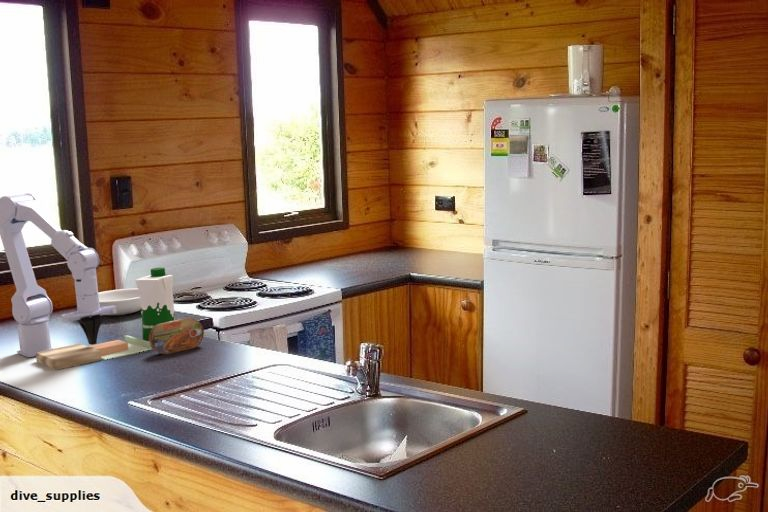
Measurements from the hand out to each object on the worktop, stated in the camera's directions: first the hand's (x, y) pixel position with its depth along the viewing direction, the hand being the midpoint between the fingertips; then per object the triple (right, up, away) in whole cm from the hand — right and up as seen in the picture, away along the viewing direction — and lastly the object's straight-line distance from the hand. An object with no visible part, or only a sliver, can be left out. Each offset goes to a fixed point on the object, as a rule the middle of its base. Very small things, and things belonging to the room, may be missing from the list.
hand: (92, 343), depth 246 cm
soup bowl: (-9, +4, +58) cm, 59 cm away
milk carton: (+14, 0, +16) cm, 22 cm away
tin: (+23, -2, 0) cm, 23 cm away
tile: (+3, -2, +3) cm, 5 cm away
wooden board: (-5, -4, -4) cm, 8 cm away
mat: (+5, -2, +5) cm, 7 cm away
